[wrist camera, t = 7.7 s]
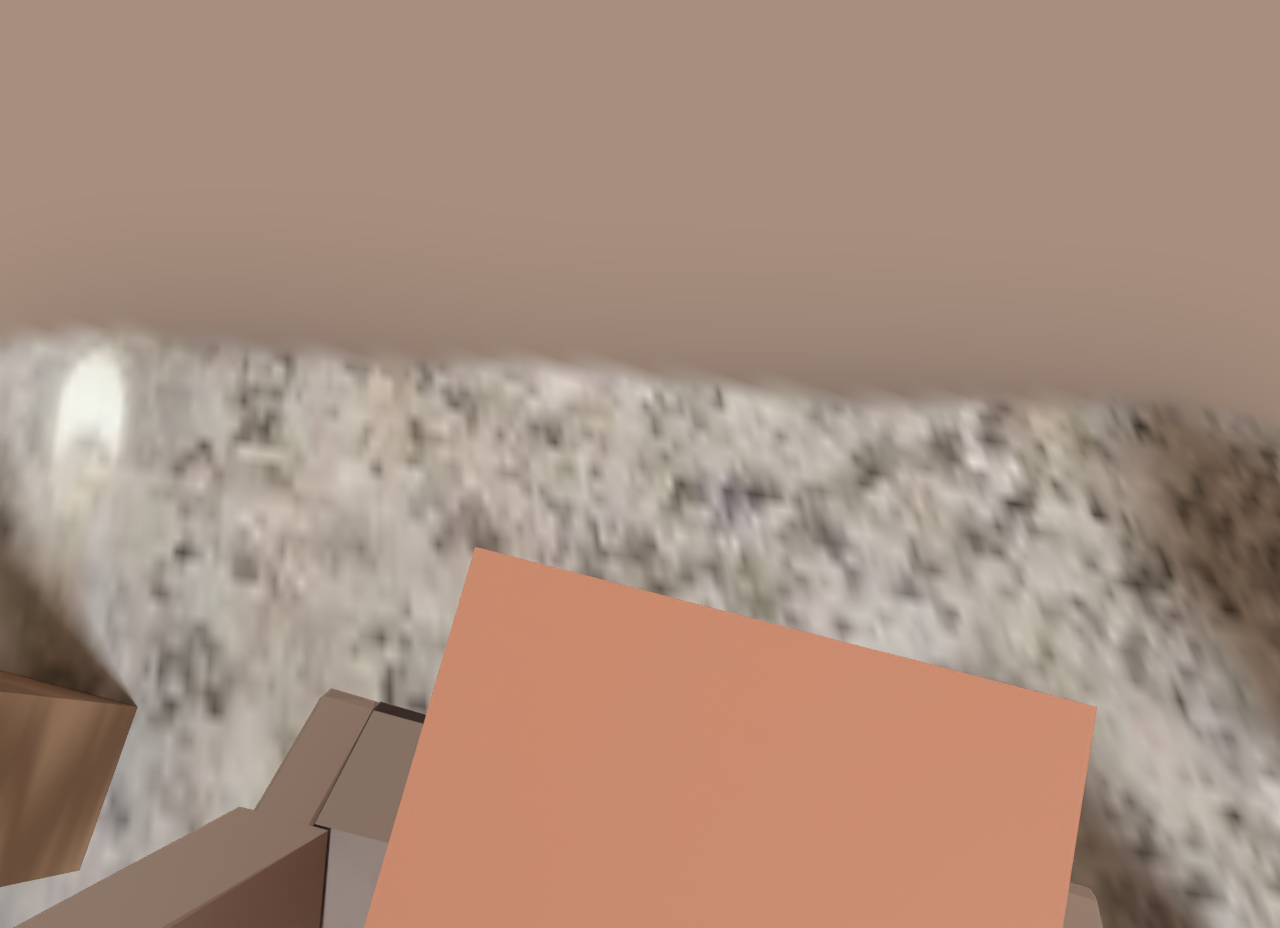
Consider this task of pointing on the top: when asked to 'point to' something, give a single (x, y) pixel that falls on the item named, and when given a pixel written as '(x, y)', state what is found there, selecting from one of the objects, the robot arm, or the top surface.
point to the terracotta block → (719, 775)
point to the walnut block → (53, 773)
